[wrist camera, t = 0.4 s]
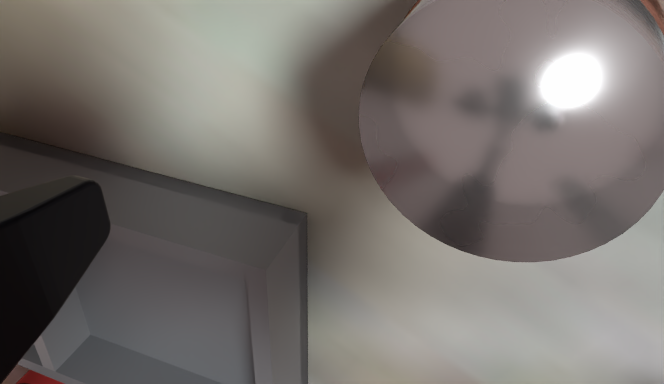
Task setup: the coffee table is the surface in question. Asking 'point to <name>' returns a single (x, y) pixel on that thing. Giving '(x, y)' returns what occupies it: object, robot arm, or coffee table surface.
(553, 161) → the steel tin
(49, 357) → the tote
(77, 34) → the coffee table surface
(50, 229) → the robot arm
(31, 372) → the canned food
